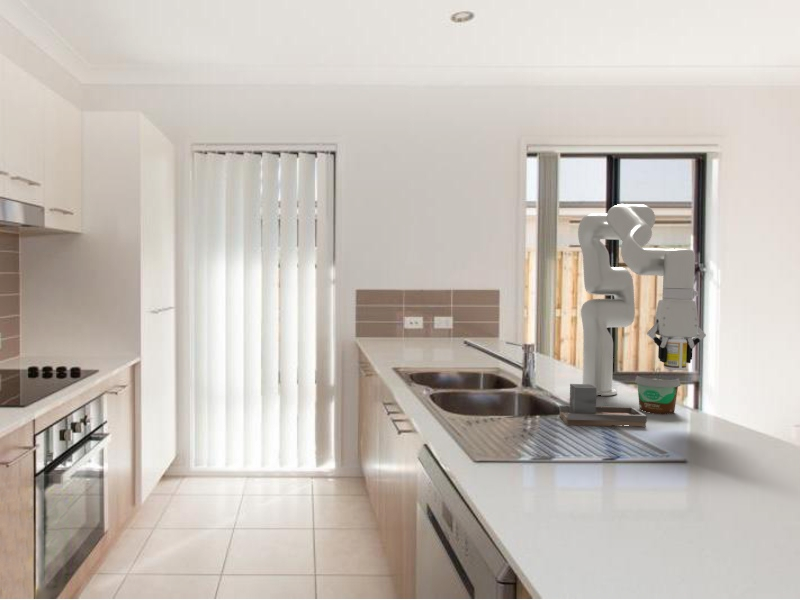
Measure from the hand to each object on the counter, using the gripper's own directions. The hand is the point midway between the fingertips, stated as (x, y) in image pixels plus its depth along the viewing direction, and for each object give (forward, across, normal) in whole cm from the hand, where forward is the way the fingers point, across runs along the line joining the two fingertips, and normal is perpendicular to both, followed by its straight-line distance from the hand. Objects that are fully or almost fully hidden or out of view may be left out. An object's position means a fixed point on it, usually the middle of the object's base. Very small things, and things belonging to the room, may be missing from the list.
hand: (674, 361), depth 162 cm
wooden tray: (+16, +20, +3) cm, 26 cm away
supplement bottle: (+2, 0, 0) cm, 2 cm away
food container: (+17, +1, -10) cm, 20 cm away
